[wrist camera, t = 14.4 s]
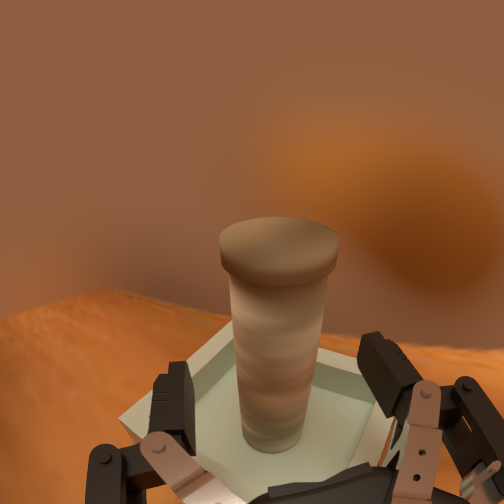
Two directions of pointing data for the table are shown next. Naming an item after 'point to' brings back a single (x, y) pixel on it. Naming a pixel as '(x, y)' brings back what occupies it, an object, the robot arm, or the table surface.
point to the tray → (313, 434)
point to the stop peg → (276, 321)
